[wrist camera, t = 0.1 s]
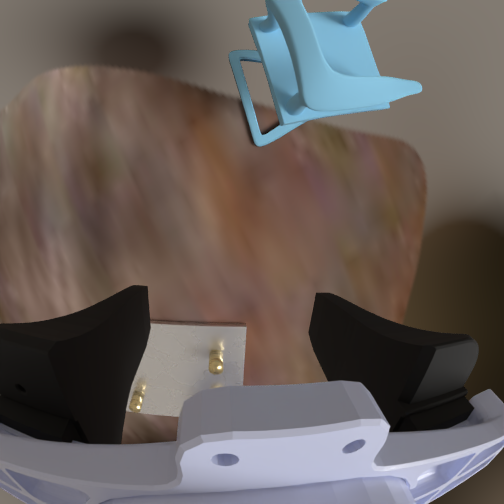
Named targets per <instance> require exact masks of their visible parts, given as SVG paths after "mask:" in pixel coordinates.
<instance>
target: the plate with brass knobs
mask: <svg viewBox="0 0 504 504" xmlns="http://www.w3.org/2000/svg"><path fill="white" fill-rule="evenodd" d="M150 324H151V329H150V334H149V339H148V343H147V346H146V349H145V352H144V354H143V357H142V360H141V362H140V365H139V367H138V370H137V373H136V375H135V378H134V381H133V383H132V386H131V390H130V394H129V398H128V403H127V408H126V411H130V412H135V413H145V414H154V415H164V416H176V417H179V415H180V412H181V409H182V406H183V403H184V401H185V400H187V399H189V398H190V397H192V396H193V395H195V394H197V393H198V392H200V391H201V390H205V389H212V388H219V387H225V386H243V374H244V358H245V342H246V323H197V322H174V321H156V320H150Z"/></svg>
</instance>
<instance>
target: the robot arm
mask: <svg viewBox="0 0 504 504" xmlns="http://www.w3.org/2000/svg"><path fill="white" fill-rule="evenodd" d="M150 329H151V324H150V313H149V301H148V286H139V285H133V286H130V287H128V288H126V289H124V290H122V291H120V292H118V293H116V294H115V295H113V296H111V297H109V298H107V299H105V300H103V301H101V302H99V303H97V304H95V305H93V306H91V307H88V308H86V309H84V310H81V311H78V312H75V313H73V314H69V315H66V316H62V317H58V318H54V319H50V320H45V321H39V322H31V323H13V324H0V488H1V489H3V490H4V491H6V492H8V493H9V494H11V495H13V496H14V497H16V498H18V499H19V500H21V501H23V502H25V503H27V504H428V503H429V502H431V501H433V500H435V499H436V498H438V497H440V496H441V495H443V494H445V493H446V492H448V491H449V490H451V489H453V488H454V487H456V486H457V485H459V484H460V483H462V482H463V481H465V480H466V479H468V478H469V477H471V476H472V475H474V474H475V473H477V472H478V471H480V470H481V469H482V468H484V467H485V466H486V465H487V464H488V463H490V461H491V460H492V459H493V458H494V457H495V456H496V455H497V454H498V453H499V451H501V449H502V448H503V447H504V403H503V402H502V401H501V400H500V399H499V398H498V397H497V396H496V395H495V394H494V393H493V392H492V391H491V390H490V389H488V390H486V391H484V392H482V393H480V394H477V395H475V396H474V397H472V399H470V400H469V401H468V400H467V399H466V397H465V395H466V394H467V393H468V392H467V389H465V387H464V384H465V382H466V380H467V378H468V377H469V374H470V373H471V371H472V369H473V367H474V365H475V363H476V360H477V357H478V344H477V342H476V341H475V340H474V339H473V338H471V337H470V336H469V335H467V334H451V333H439V332H432V331H426V330H420V329H416V328H412V327H408V326H405V325H401V324H398V323H395V322H393V321H390V320H387V319H384V318H382V317H380V316H377V315H375V314H373V313H371V312H369V311H366V310H364V309H362V308H360V307H358V306H356V305H355V304H353V303H351V302H349V301H347V300H345V299H343V298H341V297H339V296H337V295H334V294H331V293H316V296H315V302H314V307H313V312H312V317H311V322H310V327H309V336H310V340H311V344H312V347H313V350H314V352H315V354H316V357H317V359H318V361H319V363H320V365H321V367H322V369H323V371H324V374H325V376H326V378H327V380H328V382H320V383H308V384H293V385H270V386H225V387H219V388H212V389H205V390H201V391H200V392H198V393H197V394H195V395H193V396H192V397H190V398H189V399H187V400H185V401H184V403H183V406H182V409H181V412H180V415H179V422H178V431H177V441H171V442H160V443H145V444H121V440H122V432H123V425H124V419H125V413H126V408H127V403H128V398H129V394H130V390H131V386H132V383H133V381H134V378H135V375H136V373H137V370H138V367H139V365H140V362H141V360H142V357H143V354H144V352H145V349H146V346H147V343H148V339H149V334H150Z"/></svg>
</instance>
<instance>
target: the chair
mask: <svg viewBox="0 0 504 504" xmlns="http://www.w3.org/2000/svg"><path fill="white" fill-rule="evenodd" d="M357 1H359V2H360V3H359V4H358V5H357V6H356V7H355V8H354V9H353V10H352V11H350V12H317V13H307V12H306V10H305V8H304V6H303V4H302V0H265V2H266V7H267V11H268V16H262V17H254V18H250V19H249V24H248V25H249V28H250V31H251V34H252V37H253V40H254V43H255V45H256V48H257V50H256V51H255V50H235V51H231V52H230V53H229V62H230V65H231V68H232V71H233V75H234V78H235V81H236V84H237V88H238V91H239V94H240V98H241V100H242V103H243V106H244V110H245V113H246V116H247V120H248V123H249V127H250V130H251V134H252V137H253V141H254V143H255V144H256V145H257V146H264V145H267V144H269V143H271V142H273V141H275V140H276V139H278V138H280V137H281V136H283V135H285V134H286V133H288V132H290V131H291V130H293V129H295V128H296V127H298V126H300V125H301V124H303V123H304V122H306V121H309V120H314V119H319V118H324V117H330V116H336V115H344V114H351V113H358V112H366V111H375V110H383V109H387V108H390V106H389V102H391V101H394V100H397V99H400V98H402V97H405V96H408V95H412V94H416V93H419V92H421V91H422V86H421V85H420V83H418V82H416V81H411V80H404V79H399V78H394V77H385V76H380V74H379V72H378V69H377V66H376V63H375V61H374V58H373V55H372V52H371V49H370V47H369V44H368V41H367V38H366V35H365V32H364V29H363V27H362V24H361V21H362V20H363V19H364V18H365V17H366V16H367V14H368V13H369V12H370V11H371V10H372V9H373V7H375V6H377V5H379V4H381V3H383V2H385V1H387V0H357ZM240 61H249V62H258V63H262V64H263V67H264V71H265V74H266V77H267V80H268V84H269V87H270V91H271V94H272V98H273V102H274V105H275V109H276V112H277V116H278V119H279V123H280V125H279V126H277V127H276V128H274V129H273V130H272V131H270V132H269V133H267V134H264V135H262V134H261V132H260V130H259V126H258V122H257V119H256V115H255V112H254V108H253V104H252V101H251V98H250V94H249V90H248V87H247V83H246V80H245V77H244V74H243V70H242V66H241V63H240Z"/></svg>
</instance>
